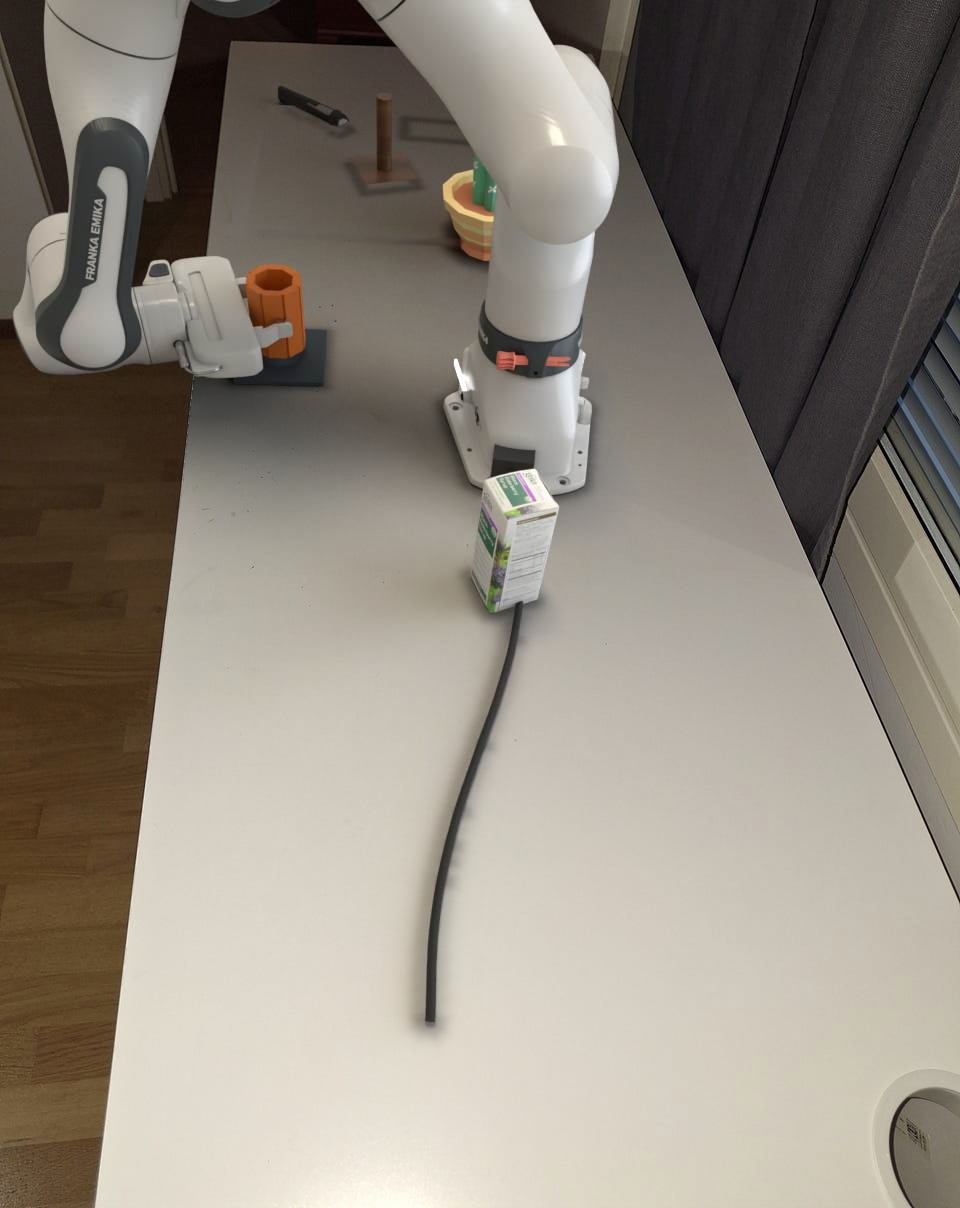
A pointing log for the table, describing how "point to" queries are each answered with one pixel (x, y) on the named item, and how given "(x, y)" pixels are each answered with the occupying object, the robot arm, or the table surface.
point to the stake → (384, 151)
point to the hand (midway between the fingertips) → (283, 307)
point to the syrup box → (513, 538)
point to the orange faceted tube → (277, 306)
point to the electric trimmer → (311, 106)
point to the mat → (294, 365)
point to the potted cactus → (472, 208)
